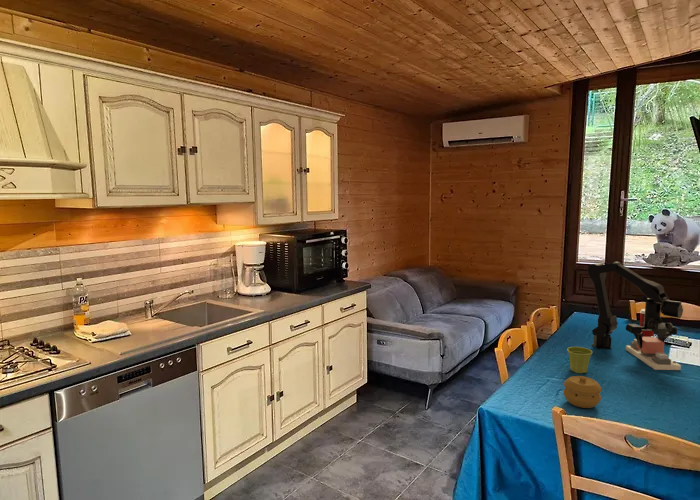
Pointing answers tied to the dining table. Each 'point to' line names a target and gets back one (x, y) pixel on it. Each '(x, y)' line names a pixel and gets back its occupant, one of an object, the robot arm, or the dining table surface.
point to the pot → (582, 391)
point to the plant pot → (579, 359)
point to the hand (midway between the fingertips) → (649, 348)
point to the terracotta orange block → (651, 345)
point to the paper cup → (646, 333)
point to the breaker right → (661, 356)
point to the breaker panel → (653, 359)
